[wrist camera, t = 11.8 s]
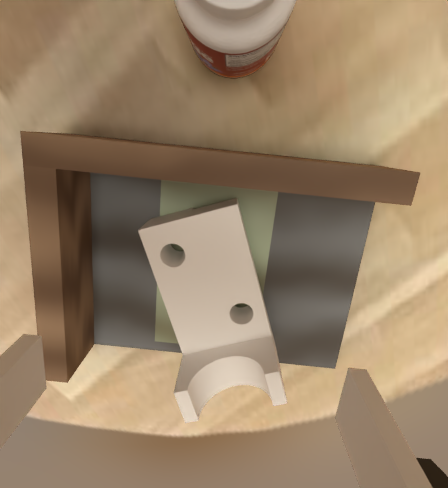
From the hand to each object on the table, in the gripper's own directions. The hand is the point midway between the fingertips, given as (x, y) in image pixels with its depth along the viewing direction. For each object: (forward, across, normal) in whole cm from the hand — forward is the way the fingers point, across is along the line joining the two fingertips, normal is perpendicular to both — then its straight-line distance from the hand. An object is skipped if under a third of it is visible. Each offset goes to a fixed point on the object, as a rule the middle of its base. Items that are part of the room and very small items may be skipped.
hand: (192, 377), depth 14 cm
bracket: (+14, 0, +2) cm, 14 cm away
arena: (+14, 0, 0) cm, 15 cm away
